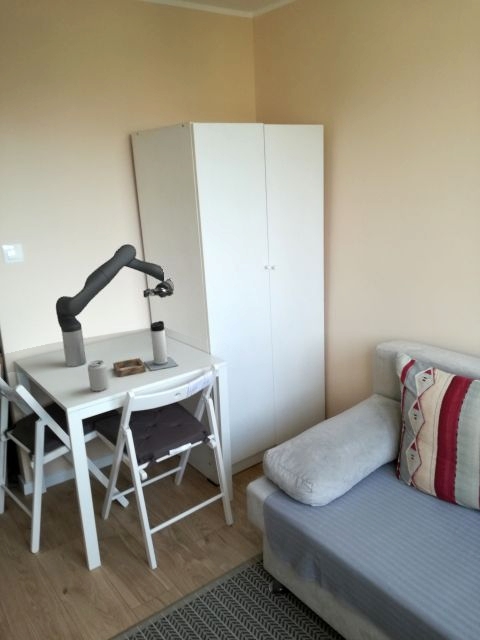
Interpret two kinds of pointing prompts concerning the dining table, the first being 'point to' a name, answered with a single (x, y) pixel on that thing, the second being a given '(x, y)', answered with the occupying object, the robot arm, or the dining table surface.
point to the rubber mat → (155, 367)
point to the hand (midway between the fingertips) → (152, 295)
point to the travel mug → (159, 343)
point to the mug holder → (129, 370)
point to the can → (98, 375)
